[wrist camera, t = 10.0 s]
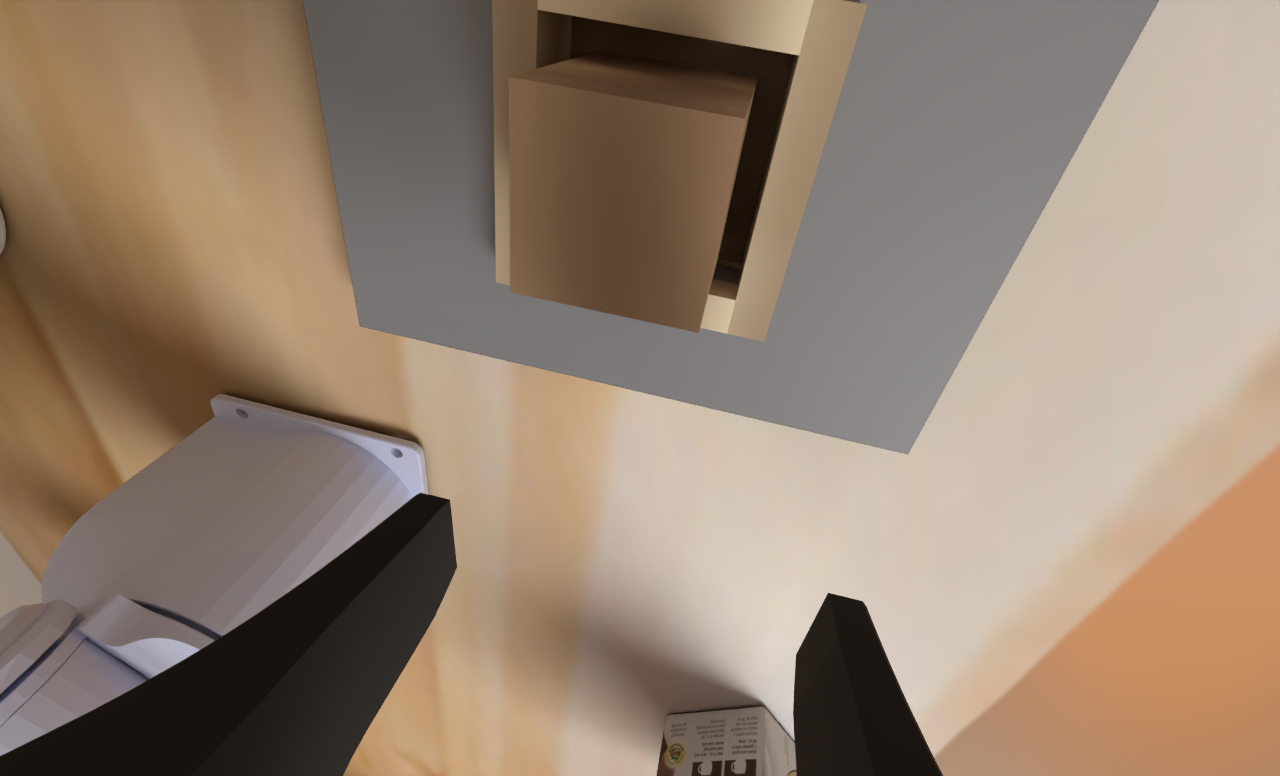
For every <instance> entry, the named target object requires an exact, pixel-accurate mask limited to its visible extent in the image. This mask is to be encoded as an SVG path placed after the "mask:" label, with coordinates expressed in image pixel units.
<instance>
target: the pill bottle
mask: <svg viewBox="0 0 1280 776" xmlns="http://www.w3.org/2000/svg"><path fill="white" fill-rule="evenodd" d="M5 241H6V226H5V221H4V217H3V214H2V211H1V208H0V254H1V252H2V251H3V249H4V246H5Z"/></svg>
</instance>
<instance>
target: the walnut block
mask: <svg viewBox="0 0 1280 776" xmlns="http://www.w3.org/2000/svg"><path fill="white" fill-rule="evenodd" d="M757 80H758V77H754V76H748V75H742V74H736V73H730V72H725V71H719V70H713V69H707V68H701V67H695V66H689V65H684V64H678V63H672V62H666V61H660V60H654V59H648V58H643V57H637V56H631V55H625V54H619V53H613V52H607V51H597V52H594V53H590V54H587V55H583V56H580V57H576V58H573V59H569V60H566V61H562V62H559V63H555V64H552V65H548V66H545V67H541V68H538V69H534V70H531V71H527V72H524V73H520V74H517V75H513V76H510V77H509V206H510V292H511V293H515V294H520V295H525V296H529V297H534V298H539V299H543V300H548V301H553V302H557V303H562V304H566V305H571V306H576V307H580V308H585V309H590V310H594V311H599V312H604V313H608V314H613V315H618V316H622V317H627V318H632V319H636V320H641V321H646V322H650V323H655V324H660V325H664V326H669V327H673V328H678V329H683V330H687V331H692V332H697V333H699V330H700V326H701V322H702V318H703V314H704V310H705V306H706V302H707V298H708V294H709V290H710V286H711V282H712V278H713V274H714V271H715V267H716V263H717V259H718V255H719V251H720V247H721V243H722V239H723V235H724V231H725V226H726V221H727V217H728V212H729V208H730V203H731V199H732V194H733V190H734V185H735V181H736V176H737V171H738V167H739V162H740V158H741V153H742V149H743V144H744V140H745V135H746V131H747V126H748V121H749V117H750V112H751V108H752V103H753V99H754V94H755V90H756V85H757Z"/></svg>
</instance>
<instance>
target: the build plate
mask: <svg viewBox="0 0 1280 776" xmlns="http://www.w3.org/2000/svg"><path fill="white" fill-rule="evenodd" d="M1158 2H1159V0H303V5H304V10H305V16H306V22H307V27H308V33H309V39H310V45H311V50H312V56H313V62H314V68H315V73H316V79H317V85H318V90H319V96H320V102H321V108H322V113H323V119H324V125H325V131H326V136H327V142H328V148H329V154H330V159H331V165H332V171H333V176H334V182H335V188H336V194H337V199H338V205H339V211H340V217H341V222H342V228H343V234H344V240H345V245H346V251H347V257H348V262H349V268H350V274H351V280H352V285H353V291H354V297H355V303H356V308H357V314H358V320H359V326H361V327H365V328H369V329H373V330H378V331H382V332H386V333H390V334H395V335H399V336H403V337H408V338H412V339H416V340H420V341H425V342H429V343H433V344H438V345H442V346H446V347H450V348H455V349H459V350H463V351H467V352H472V353H476V354H480V355H485V356H489V357H493V358H497V359H502V360H506V361H510V362H514V363H519V364H523V365H527V366H532V367H536V368H540V369H544V370H549V371H553V372H557V373H562V374H566V375H570V376H574V377H579V378H583V379H587V380H591V381H596V382H600V383H604V384H609V385H613V386H617V387H621V388H626V389H630V390H634V391H638V392H643V393H647V394H651V395H656V396H660V397H664V398H668V399H673V400H677V401H681V402H685V403H690V404H694V405H698V406H703V407H707V408H711V409H715V410H720V411H724V412H728V413H733V414H737V415H741V416H745V417H750V418H754V419H758V420H762V421H767V422H771V423H775V424H780V425H784V426H788V427H792V428H797V429H801V430H805V431H809V432H814V433H818V434H822V435H827V436H831V437H835V438H839V439H844V440H848V441H852V442H856V443H861V444H865V445H869V446H874V447H878V448H882V449H886V450H891V451H895V452H899V453H904V454H909V452H910V450H911V448H912V446H913V445H914V443H915V441H916V439H917V437H918V435H919V434H920V432H921V430H922V428H923V426H924V425H925V423H926V421H927V419H928V417H929V416H930V414H931V412H932V410H933V408H934V407H935V405H936V403H937V401H938V399H939V398H940V396H941V394H942V392H943V390H944V388H945V387H946V385H947V383H948V381H949V379H950V378H951V376H952V374H953V372H954V370H955V369H956V367H957V365H958V363H959V361H960V360H961V358H962V356H963V354H964V352H965V351H966V349H967V347H968V345H969V343H970V341H971V340H972V338H973V336H974V334H975V332H976V331H977V329H978V327H979V325H980V323H981V322H982V320H983V318H984V316H985V314H986V313H987V311H988V309H989V307H990V305H991V304H992V302H993V300H994V298H995V296H996V294H997V293H998V291H999V289H1000V287H1001V285H1002V284H1003V282H1004V280H1005V278H1006V276H1007V275H1008V273H1009V271H1010V269H1011V267H1012V266H1013V264H1014V262H1015V260H1016V258H1017V257H1018V255H1019V253H1020V251H1021V249H1022V247H1023V246H1024V244H1025V242H1026V240H1027V238H1028V237H1029V235H1030V233H1031V231H1032V229H1033V228H1034V226H1035V224H1036V222H1037V220H1038V219H1039V217H1040V215H1041V213H1042V211H1043V210H1044V208H1045V206H1046V204H1047V202H1048V200H1049V199H1050V197H1051V195H1052V193H1053V191H1054V190H1055V188H1056V186H1057V184H1058V182H1059V181H1060V179H1061V177H1062V175H1063V173H1064V172H1065V170H1066V168H1067V166H1068V164H1069V163H1070V161H1071V159H1072V157H1073V155H1074V153H1075V152H1076V150H1077V148H1078V146H1079V144H1080V143H1081V141H1082V139H1083V137H1084V135H1085V134H1086V132H1087V130H1088V128H1089V126H1090V125H1091V123H1092V121H1093V119H1094V117H1095V116H1096V114H1097V112H1098V110H1099V108H1100V106H1101V105H1102V103H1103V101H1104V99H1105V97H1106V96H1107V94H1108V92H1109V90H1110V88H1111V87H1112V85H1113V83H1114V81H1115V79H1116V78H1117V76H1118V74H1119V72H1120V70H1121V69H1122V67H1123V65H1124V63H1125V61H1126V59H1127V58H1128V56H1129V54H1130V52H1131V50H1132V49H1133V47H1134V45H1135V43H1136V41H1137V40H1138V38H1139V36H1140V34H1141V32H1142V31H1143V29H1144V27H1145V25H1146V23H1147V22H1148V20H1149V18H1150V16H1151V14H1152V12H1153V11H1154V9H1155V7H1156V5H1157V3H1158ZM573 16H577V17H583V18H588V19H594V20H600V21H605V22H611V23H617V24H622V25H628V26H634V27H640V28H645V29H651V30H657V31H662V32H668V33H674V34H679V35H685V36H691V37H697V38H702V39H708V40H714V41H719V42H725V43H731V44H736V45H742V46H748V47H753V48H759V49H765V50H771V51H776V52H782V53H788V54H793V55H795V56H794V60H793V64H792V68H791V72H790V75H789V79H788V83H787V87H786V91H785V95H784V99H783V103H782V107H781V111H780V115H779V119H778V122H777V126H776V130H775V134H774V138H773V142H772V146H771V150H770V154H769V158H768V162H767V166H766V169H765V173H764V177H763V181H762V185H761V189H760V193H759V197H758V201H757V205H756V209H755V213H754V216H753V220H752V224H751V228H750V232H749V236H748V240H747V244H746V248H745V252H744V256H743V260H742V263H736V262H731V261H727V260H722V259H717V263H716V267H715V271H714V274H713V278H712V282H711V286H710V290H709V294H708V298H707V302H706V306H705V310H704V314H703V318H702V322H701V326H700V330H699V333H697V332H692V331H687V330H683V329H678V328H673V327H669V326H664V325H660V324H655V323H650V322H646V321H641V320H636V319H632V318H627V317H622V316H618V315H613V314H608V313H604V312H599V311H594V310H590V309H585V308H580V307H576V306H571V305H566V304H562V303H557V302H553V301H548V300H543V299H539V298H534V297H529V296H525V295H520V294H515V293H511V292H510V206H509V77H510V76H513V75H517V74H520V73H524V72H527V71H531V70H534V69H538V68H541V67H545V66H548V65H552V64H555V63H559V62H562V61H566V60H569V59H570V54H571V36H572V18H573Z"/></svg>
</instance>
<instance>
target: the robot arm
mask: <svg viewBox="0 0 1280 776" xmlns="http://www.w3.org/2000/svg"><path fill="white" fill-rule="evenodd" d="M210 403H211V407H212V410H213V413H214V415H215V417H213V418H212V419H211V420H209V421H208V422H207V423H205V424H204V425H202V426H201V427H200V428H198V429H197V430H196V431H194V432H193V433H192V434H190V435H189V436H188V437H186V438H185V439H183V440H182V441H181V442H179V443H178V444H177V445H175V446H174V447H173V448H171V449H170V450H168V451H167V452H166V453H164V454H163V455H162V456H160V457H159V458H158V459H156V460H155V461H154V462H152V463H151V464H149V465H148V466H147V467H145V468H144V469H143V470H141V471H140V472H139V473H137V474H136V475H135V476H133V477H132V478H130V479H129V480H128V481H126V482H125V483H124V484H122V485H121V486H120V487H118V488H117V489H115V490H114V491H113V492H111V493H110V494H109V495H107V496H106V497H105V498H103V499H102V500H101V501H99V502H98V503H96V504H95V505H94V506H93V507H91V508H90V509H89V510H88V511H87V512H86V513H84V514H83V515H82V516H81V517H80V518H79V519H78V520H77V521H76V522H75V524H74V525H73V526H72V527H71V528H70V529H69V531H68V532H67V533H66V534H65V536H64V537H63V538H62V540H61V541H60V543H59V544H58V546H57V547H56V549H55V551H54V552H53V554H52V556H51V558H50V560H49V562H48V564H47V566H46V569H45V572H44V576H43V580H42V601H43V603H40V604H33V605H25V606H20V607H18V608H16V609H14V610H12V611H11V612H9V613H7V614H6V615H4V616H2V617H1V618H0V776H343V774H344V772H345V770H346V768H347V766H348V764H349V762H350V760H351V758H352V756H353V754H354V753H355V751H356V749H357V747H358V745H359V744H360V742H361V740H362V738H363V736H364V734H365V733H366V731H367V729H368V728H369V726H370V724H371V723H372V721H373V719H374V718H375V716H376V714H377V713H378V711H379V709H380V708H381V706H382V704H383V703H384V701H385V699H386V698H387V696H388V694H389V693H390V691H391V689H392V688H393V686H394V684H395V683H396V681H397V679H398V678H399V676H400V674H401V673H402V671H403V669H404V668H405V666H406V664H407V663H408V661H409V659H410V658H411V656H412V654H413V653H414V651H415V649H416V648H417V646H418V644H419V642H420V641H421V639H422V637H423V636H424V634H425V632H426V631H427V629H428V627H429V625H430V624H431V622H432V620H433V619H434V617H435V615H436V612H437V610H438V608H439V606H440V604H441V602H442V600H443V597H444V595H445V593H446V591H447V589H448V586H449V584H450V582H451V580H452V577H453V575H454V573H455V570H456V568H457V563H456V554H455V544H454V534H453V525H452V515H451V506H450V500H448V499H444V498H440V497H436V496H432V495H429V494H428V485H427V477H426V468H425V459H424V452H423V450H422V448H421V447H420V446H419V445H418V444H417V443H414V442H412V441H408V440H404V439H400V438H396V437H392V436H388V435H384V434H380V433H376V432H372V431H368V430H364V429H360V428H356V427H352V426H348V425H344V424H340V423H336V422H332V421H328V420H324V419H320V418H316V417H312V416H308V415H304V414H300V413H296V412H292V411H288V410H284V409H280V408H276V407H272V406H268V405H264V404H260V403H256V402H252V401H248V400H244V399H240V398H236V397H233V396H229V395H224V394H219V395H217V396H215V397H214V398H212V399H211V401H210ZM793 716H794V736H795V754H796V771H797V776H943V775H942V773H941V771H940V769H939V767H938V765H937V763H936V761H935V759H934V757H933V755H932V753H931V751H930V749H929V747H928V745H927V743H926V741H925V739H924V736H923V734H922V732H921V730H920V728H919V726H918V724H917V722H916V720H915V718H914V716H913V714H912V712H911V709H910V707H909V705H908V703H907V701H906V699H905V696H904V694H903V692H902V690H901V688H900V685H899V683H898V681H897V679H896V676H895V674H894V672H893V670H892V667H891V665H890V663H889V660H888V658H887V656H886V653H885V651H884V649H883V646H882V644H881V641H880V639H879V637H878V634H877V632H876V629H875V627H874V624H873V622H872V619H871V617H870V614H869V612H868V609H867V607H866V606H865V604H864V603H863V601H859V600H855V599H851V598H847V597H843V596H838V595H834V594H830V593H828V594H827V596H826V598H825V600H824V602H823V604H822V606H821V608H820V610H819V612H818V614H817V616H816V618H815V620H814V622H813V623H812V625H811V627H810V629H809V631H808V633H807V635H806V637H805V639H804V641H803V643H802V645H801V647H800V649H799V650H798V652H797V654H796V668H795V686H794V710H793Z"/></svg>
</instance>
